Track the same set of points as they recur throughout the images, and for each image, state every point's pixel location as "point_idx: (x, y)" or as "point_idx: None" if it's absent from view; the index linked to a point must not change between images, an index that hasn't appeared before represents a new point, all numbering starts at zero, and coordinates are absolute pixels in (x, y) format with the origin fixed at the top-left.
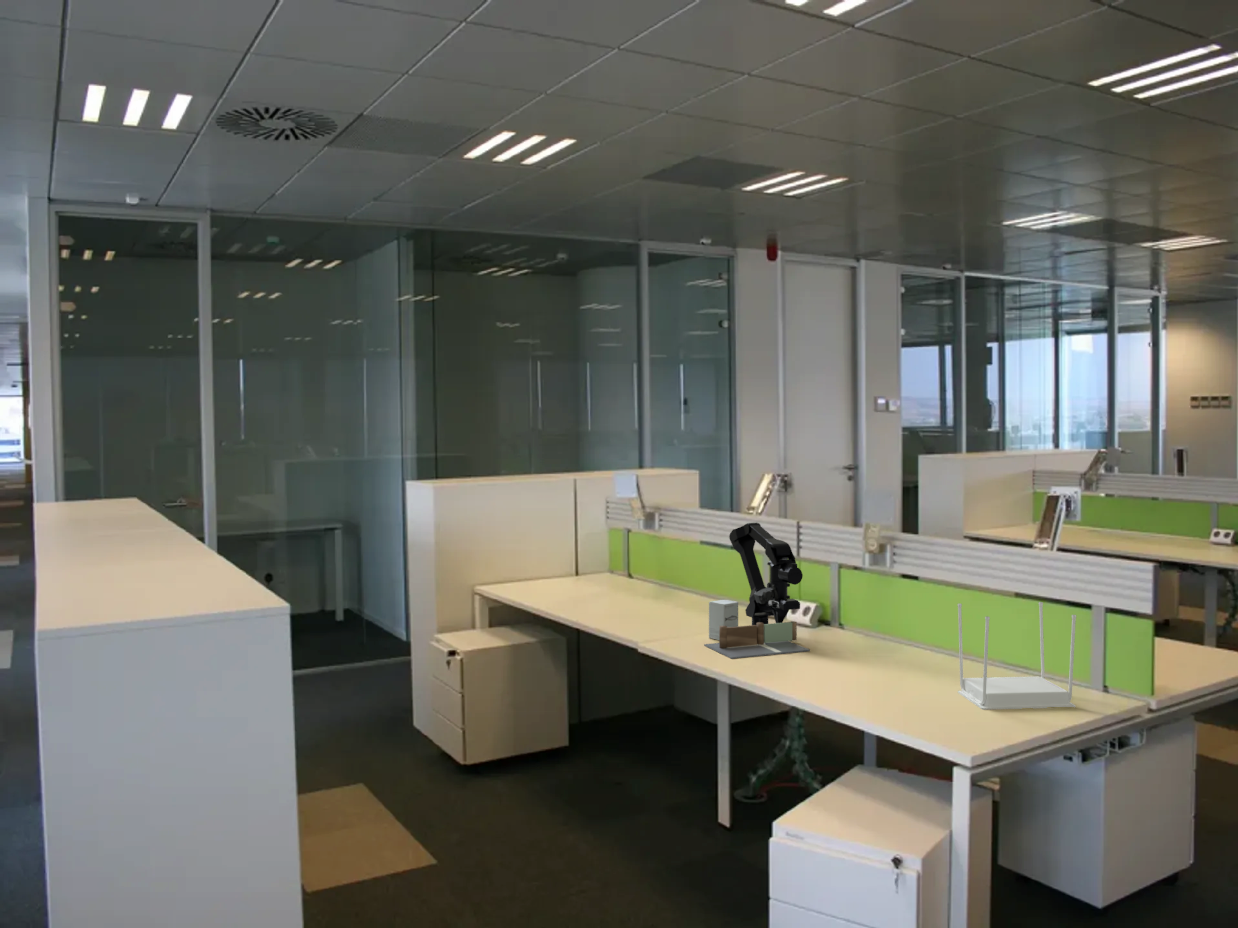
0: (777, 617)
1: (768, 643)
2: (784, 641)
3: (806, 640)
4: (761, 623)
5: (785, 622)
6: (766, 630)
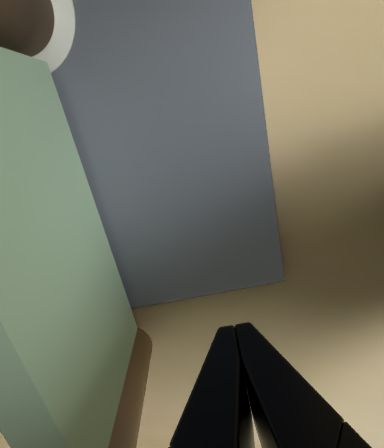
0: (180, 439)
1: None
2: (123, 276)
3: None
4: None
5: (60, 442)
6: None
